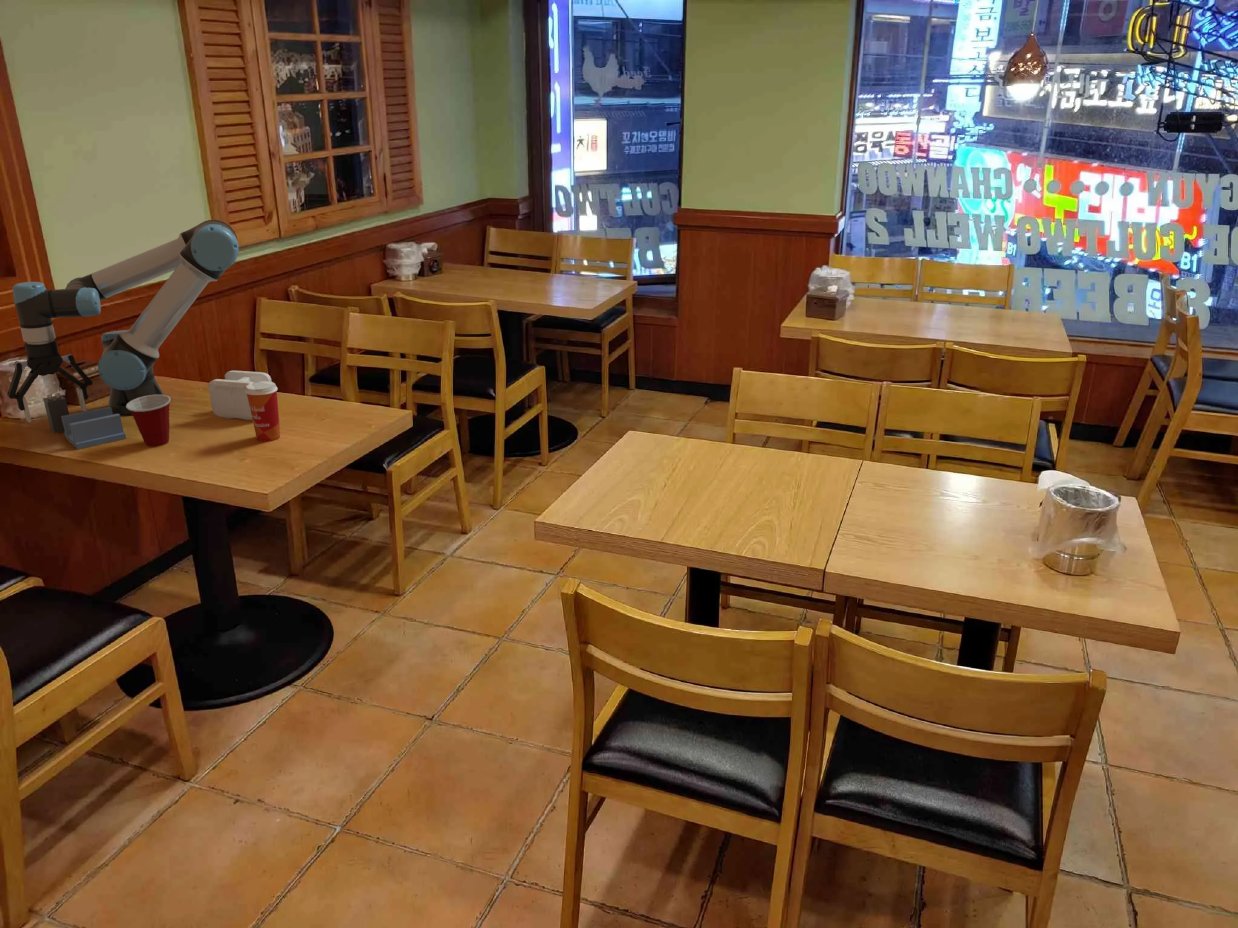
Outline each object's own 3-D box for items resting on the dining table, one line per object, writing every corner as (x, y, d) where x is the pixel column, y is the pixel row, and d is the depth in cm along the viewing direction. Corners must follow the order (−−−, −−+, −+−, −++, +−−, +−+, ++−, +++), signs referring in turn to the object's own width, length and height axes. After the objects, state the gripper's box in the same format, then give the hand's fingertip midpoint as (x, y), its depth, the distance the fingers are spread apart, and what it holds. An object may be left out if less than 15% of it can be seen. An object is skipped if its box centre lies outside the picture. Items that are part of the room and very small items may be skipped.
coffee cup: (247, 437, 251) (238, 385, 245) (275, 430, 256) (267, 378, 251) (262, 445, 246) (253, 392, 240) (290, 437, 251) (283, 385, 245)
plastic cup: (125, 448, 243) (115, 405, 239) (153, 434, 253) (145, 393, 248) (160, 452, 241) (151, 409, 236) (187, 438, 250) (179, 396, 246)
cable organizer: (278, 410, 272) (273, 372, 268) (259, 422, 262) (253, 383, 258) (233, 407, 275) (226, 369, 270) (211, 418, 265) (205, 380, 261)
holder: (112, 427, 258) (108, 405, 255) (126, 438, 250) (121, 416, 247) (65, 437, 250) (59, 415, 248) (77, 449, 242) (72, 426, 240)
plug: (68, 425, 259) (60, 390, 256) (72, 429, 256) (64, 394, 253) (50, 428, 257) (42, 394, 253) (54, 433, 254) (46, 398, 250)
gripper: (87, 331, 257) (101, 403, 265) (-18, 345, 241) (1, 421, 249) (95, 336, 252) (109, 409, 260) (-12, 351, 236) (7, 429, 244)
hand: (56, 415), depth 255 cm, fingers open, 13 cm apart
